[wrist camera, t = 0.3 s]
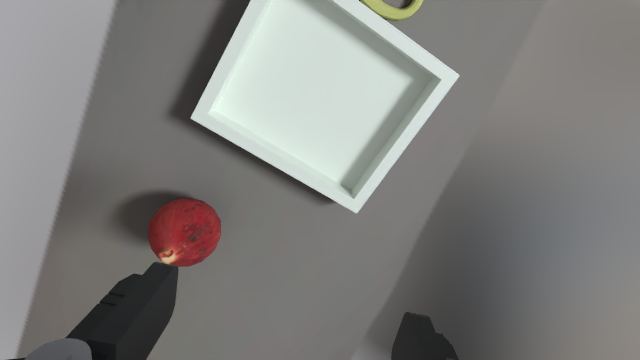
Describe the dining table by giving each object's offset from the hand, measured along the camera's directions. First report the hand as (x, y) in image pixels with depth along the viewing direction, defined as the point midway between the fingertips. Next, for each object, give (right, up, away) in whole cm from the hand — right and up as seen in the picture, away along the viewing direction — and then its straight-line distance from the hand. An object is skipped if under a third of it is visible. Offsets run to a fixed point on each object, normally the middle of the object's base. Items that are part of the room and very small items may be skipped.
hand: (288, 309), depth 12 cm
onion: (-11, +1, +22) cm, 24 cm away
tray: (+1, +12, +18) cm, 22 cm away
